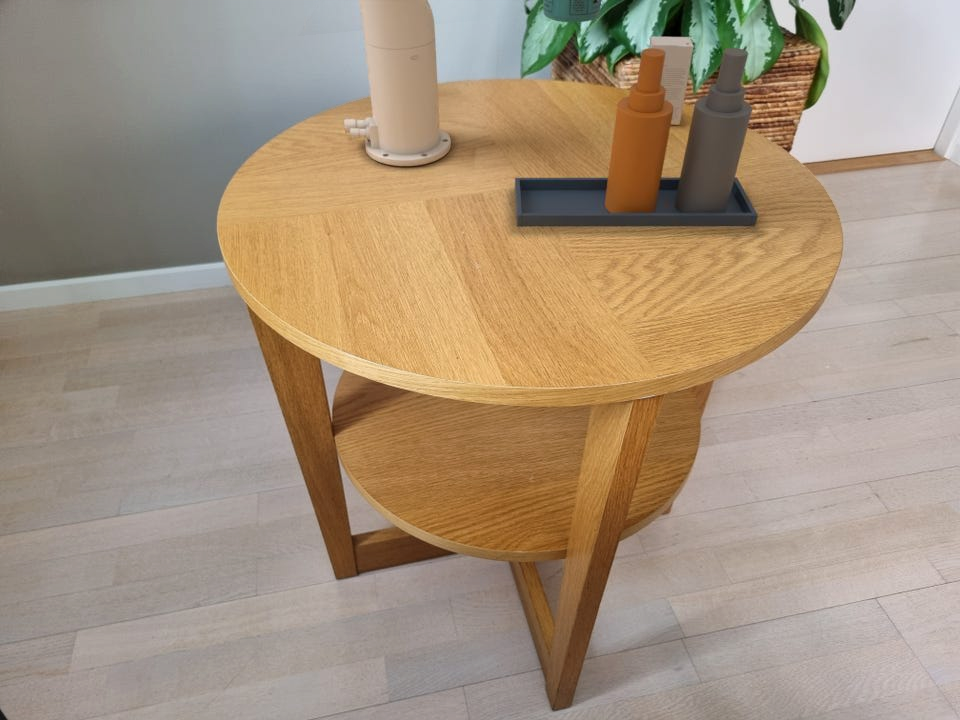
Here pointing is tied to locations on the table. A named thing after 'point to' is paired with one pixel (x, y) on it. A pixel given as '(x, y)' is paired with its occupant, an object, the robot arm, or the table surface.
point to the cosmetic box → (675, 70)
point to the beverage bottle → (572, 10)
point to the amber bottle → (640, 140)
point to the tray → (587, 208)
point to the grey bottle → (715, 140)
